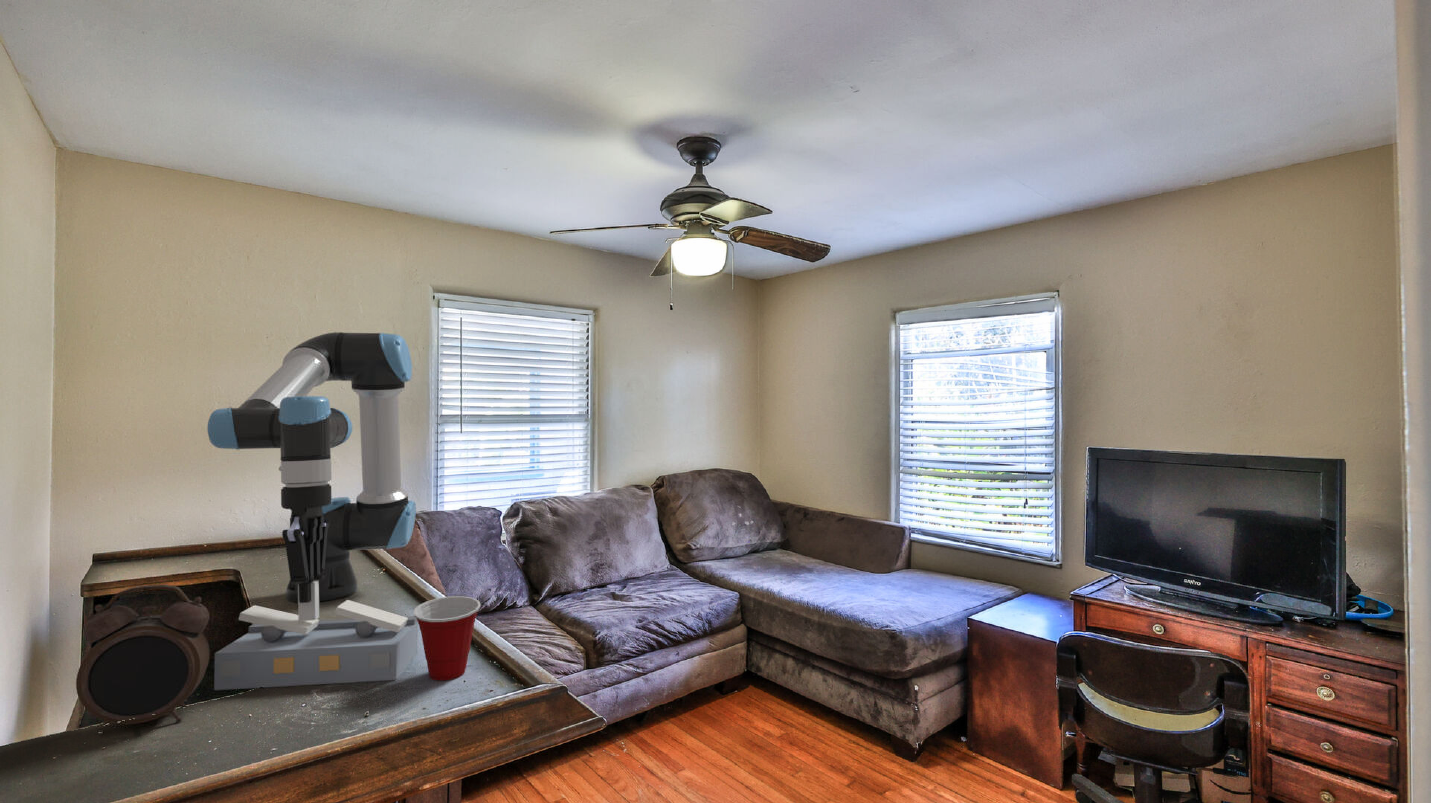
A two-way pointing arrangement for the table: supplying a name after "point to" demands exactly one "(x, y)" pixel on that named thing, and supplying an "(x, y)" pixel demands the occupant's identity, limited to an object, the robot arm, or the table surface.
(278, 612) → the rocker left
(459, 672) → the plastic cup
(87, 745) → the table surface
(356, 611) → the rocker right
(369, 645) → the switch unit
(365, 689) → the table surface
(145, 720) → the alarm clock
